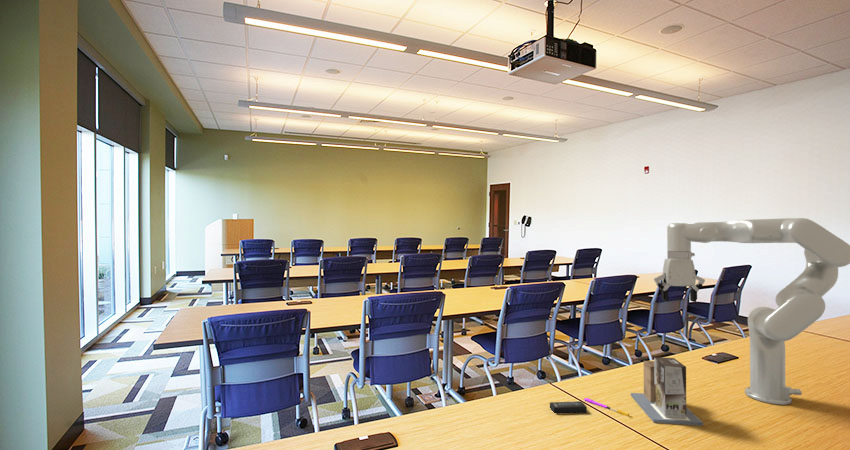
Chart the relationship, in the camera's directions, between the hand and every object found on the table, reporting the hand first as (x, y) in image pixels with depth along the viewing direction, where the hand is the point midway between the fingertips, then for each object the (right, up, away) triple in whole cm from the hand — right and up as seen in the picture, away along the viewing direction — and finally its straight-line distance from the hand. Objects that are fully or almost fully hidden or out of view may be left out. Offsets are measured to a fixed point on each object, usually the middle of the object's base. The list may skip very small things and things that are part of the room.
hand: (679, 301), depth 152 cm
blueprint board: (-17, -32, -19) cm, 41 cm away
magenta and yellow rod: (-35, -33, -17) cm, 51 cm away
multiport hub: (-49, -33, -19) cm, 62 cm away
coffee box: (-17, -32, -23) cm, 42 cm away
